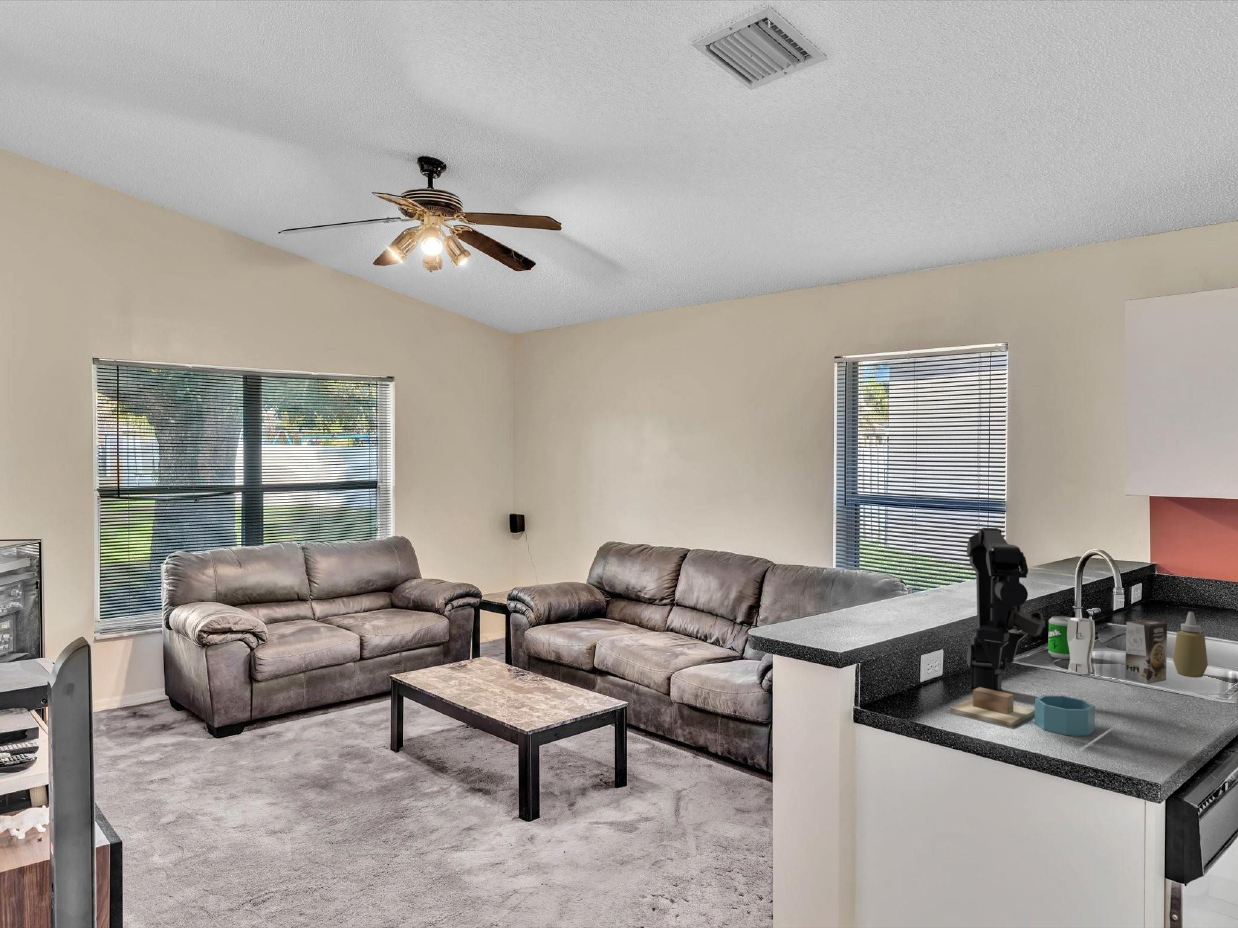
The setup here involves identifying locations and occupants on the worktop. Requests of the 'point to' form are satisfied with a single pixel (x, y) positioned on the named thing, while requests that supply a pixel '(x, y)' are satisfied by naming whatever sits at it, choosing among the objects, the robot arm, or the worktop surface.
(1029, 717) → the mat
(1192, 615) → the squeeze bottle
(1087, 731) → the bowl
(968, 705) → the lid
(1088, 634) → the white tall piece
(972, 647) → the robot arm
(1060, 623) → the soda can
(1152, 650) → the cookie box
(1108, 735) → the worktop surface
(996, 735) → the worktop surface
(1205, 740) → the worktop surface
